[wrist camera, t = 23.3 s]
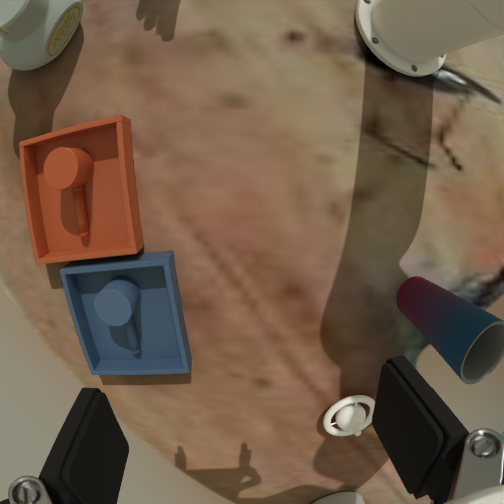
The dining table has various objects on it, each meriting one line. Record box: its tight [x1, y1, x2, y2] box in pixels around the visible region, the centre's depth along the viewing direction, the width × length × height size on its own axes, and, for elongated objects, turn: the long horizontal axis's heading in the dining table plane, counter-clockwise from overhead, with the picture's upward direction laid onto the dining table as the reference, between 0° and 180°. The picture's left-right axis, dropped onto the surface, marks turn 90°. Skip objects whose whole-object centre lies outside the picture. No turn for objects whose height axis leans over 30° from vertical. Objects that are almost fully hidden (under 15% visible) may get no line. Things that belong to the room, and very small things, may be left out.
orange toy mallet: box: [44, 147, 94, 238], centre depth 27 cm, size 9×4×4 cm, turn 4°
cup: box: [397, 276, 504, 384], centre depth 29 cm, size 7×7×15 cm
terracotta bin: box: [19, 115, 144, 265], centre depth 28 cm, size 13×12×3 cm
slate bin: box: [59, 251, 192, 375], centre depth 32 cm, size 13×12×3 cm
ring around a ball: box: [323, 395, 375, 436], centre depth 38 cm, size 8×6×8 cm
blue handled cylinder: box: [94, 276, 141, 354], centre depth 31 cm, size 9×4×4 cm, turn 4°
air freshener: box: [0, 0, 83, 70], centre depth 19 cm, size 11×8×10 cm
